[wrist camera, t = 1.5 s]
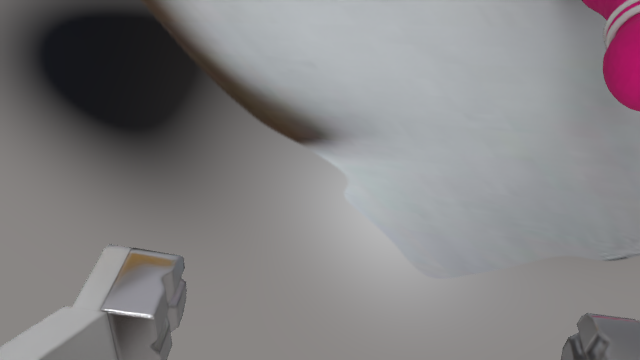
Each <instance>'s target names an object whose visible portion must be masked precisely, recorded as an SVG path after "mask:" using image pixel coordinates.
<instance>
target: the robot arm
mask: <svg viewBox="0 0 640 360" xmlns="http://www.w3.org/2000/svg"><path fill="white" fill-rule="evenodd" d="M184 268H185V266H184V258H183V256H180V255H173V254H168V253H161V252H156V251H150V250H144V249H138V248H131V247H125V246H118V245H112V244H109V245H108V246H107V247H106V248H105V249H104V250H103V251H102V253H101V255H100V257H99V258H98V260H97V262H96V264H95V265H94V267H93V269H92V271H91V273H90V275H89V276H88V278H87V280H86V282H85V283H84V286H83V287H82V289H81V291H80V292H79V294H78V296H77V298H76V300H75V302H74V303H73V305H72V307H69V306H63V307H62V308H60V309H59V310H57V311H56V312H54V313H52V314H51V315H49V316H48V317H46V318H45V319H43V320H42V321H40V322H38V323H37V324H35V325H34V326H32V327H30V328H29V329H27V330H26V331H24V332H23V333H21V334H20V335H18V336H16V337H15V338H13V339H12V340H10V341H9V342H7V343H5V344H4V345H2V346H1V347H0V360H167V358H168V355H169V352H170V349H171V347H172V339H171V332H172V331H173V330H175V329H176V328H178V327H179V325H180V321H181V319H182V316H183V312H184V307H185V302H186V291H187V290H186V282H185V281H184V280H183V279H182V278H181V277H182V274H183V271H184ZM577 327H578V330H579V333H577V334H575V335H573V336H570V337H568V339H567V341H566V343H565V345H564V347H563V350H562V356H561V360H640V320H635V319H629V318H621V317H613V316H606V315H598V314H591V313H586V314H585V315H583V316H582V317H581V318H580V320H579V321H578V323H577Z"/></svg>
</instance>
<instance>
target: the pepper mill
mask: <svg viewBox="0 0 640 360" xmlns="http://www.w3.org/2000/svg"><path fill="white" fill-rule="evenodd" d="M582 1H583V2H584V3H585V4H586V5H587V6H588V7H589V8H591V9H593V10H594V11H596V12H598V13H599V14H601V15H602V16H603V17H604V18H605V19H606V20H607V22H606V24H605V27H604V32H603V39H604V43H605V45H606V53H605V55H604V60H603V74H604V79H605V82H606V85H607V87H608V89H609V90H610V92H611V93H612V94H613V96H614V97H615V98H616V99H617V100H618V101H619V102H620V103H622V104H623V105H625V106H626V107H628V108H630V109H633V110H636V111H640V0H582Z"/></svg>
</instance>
